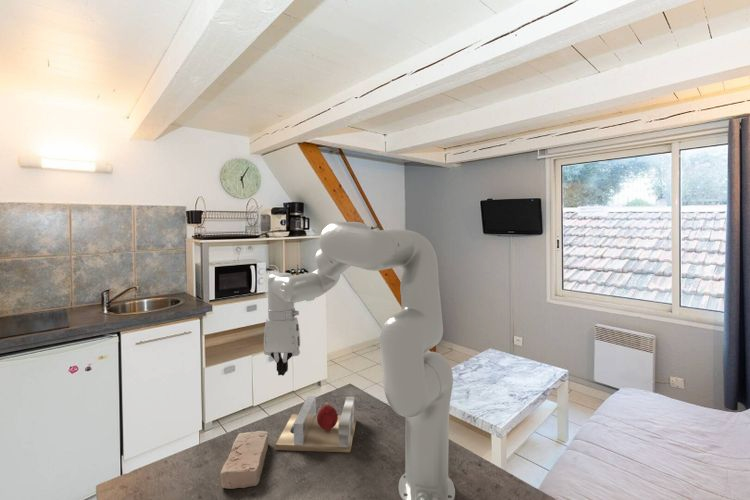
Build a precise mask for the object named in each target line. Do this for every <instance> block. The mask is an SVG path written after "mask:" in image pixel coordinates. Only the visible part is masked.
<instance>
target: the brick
mask: <svg viewBox="0 0 750 500" xmlns="http://www.w3.org/2000/svg"><path fill="white" fill-rule="evenodd" d="M268 449H269V432H268V431H267V430H266V431H265V430H257V431H248V432H239V433H238V435H236V437H235V440H234V441H233V443H232V447H231V451H230V453H229V454H228V457H227V459H226V460H225V463H224V464H223V466H222V469H221V470H220V473H219V474H220V475H219V476H220V484H221V487H222V488H223V489H229V490H230V489H231V490H232V489H239V488H241V489H245V488H249V487H256V486H258V485H259V483H260V479H261V475H262V474H263V468H264V465H265V464H264V463H265V459H266V456H267V455H266V454H267V452H268Z"/></svg>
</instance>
